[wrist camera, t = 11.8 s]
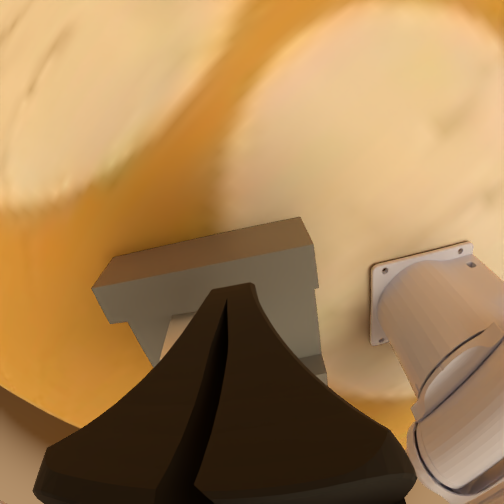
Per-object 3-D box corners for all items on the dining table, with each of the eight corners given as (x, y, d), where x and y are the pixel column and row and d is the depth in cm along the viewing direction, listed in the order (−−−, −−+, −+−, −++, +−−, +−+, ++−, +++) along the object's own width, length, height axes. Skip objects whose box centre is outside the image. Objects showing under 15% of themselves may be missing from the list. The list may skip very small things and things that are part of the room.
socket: (300, 216, 19) (313, 243, 16) (318, 358, 25) (328, 394, 22) (113, 257, 20) (91, 288, 17) (175, 380, 26) (168, 415, 22)
